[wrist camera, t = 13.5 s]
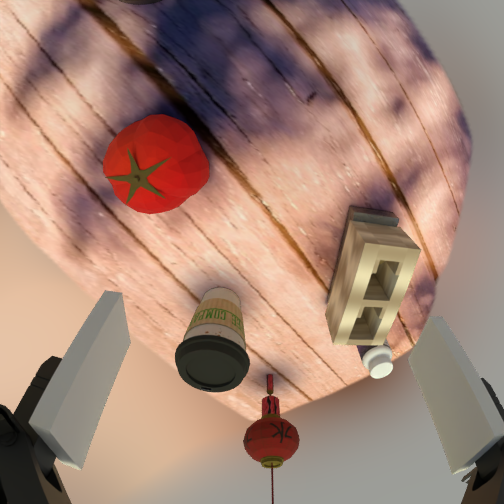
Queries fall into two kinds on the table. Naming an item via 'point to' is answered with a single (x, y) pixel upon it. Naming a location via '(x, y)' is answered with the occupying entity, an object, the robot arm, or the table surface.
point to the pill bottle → (376, 359)
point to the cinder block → (370, 283)
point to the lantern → (271, 435)
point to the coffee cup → (214, 344)
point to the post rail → (367, 217)
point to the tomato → (156, 164)
